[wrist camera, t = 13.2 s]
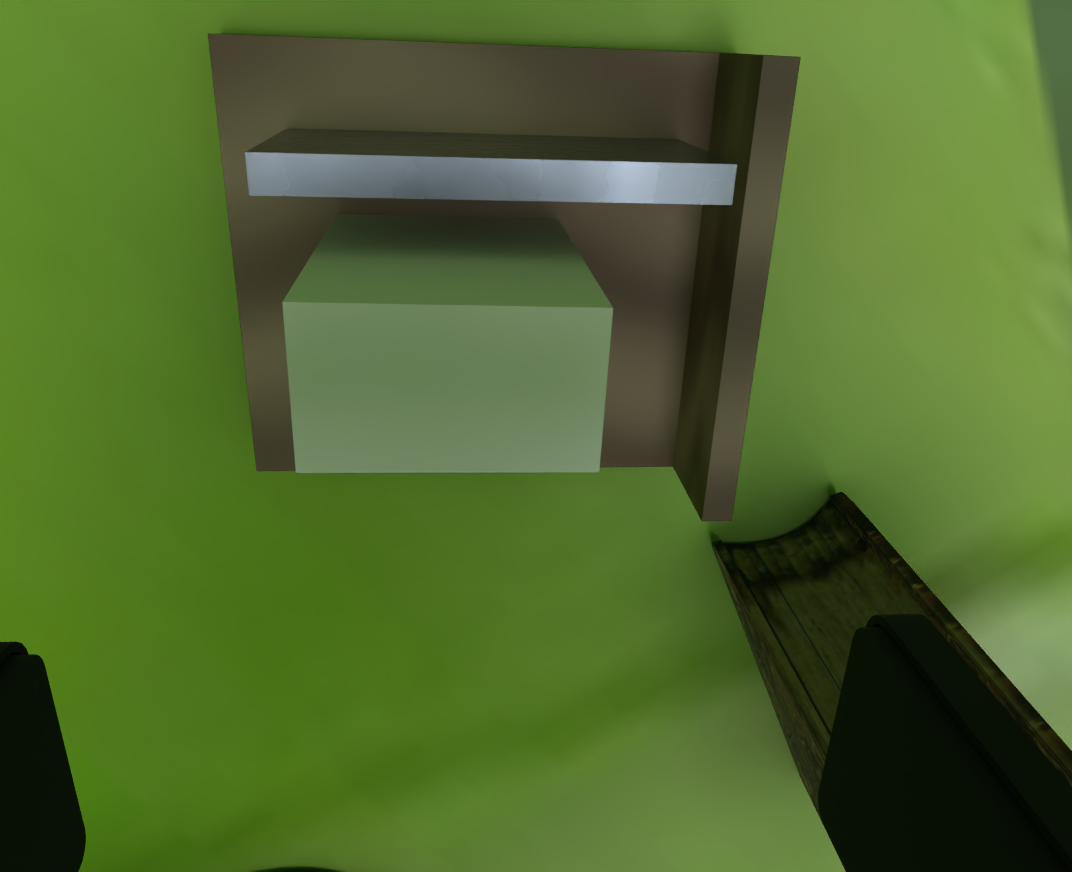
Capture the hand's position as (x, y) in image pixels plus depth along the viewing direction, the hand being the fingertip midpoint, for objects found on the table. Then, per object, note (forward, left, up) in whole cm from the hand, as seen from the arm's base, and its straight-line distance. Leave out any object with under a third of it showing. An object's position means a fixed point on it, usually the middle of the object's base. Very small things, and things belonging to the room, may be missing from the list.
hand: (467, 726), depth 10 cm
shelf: (0, -1, -22) cm, 22 cm away
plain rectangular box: (0, 0, -20) cm, 20 cm away
